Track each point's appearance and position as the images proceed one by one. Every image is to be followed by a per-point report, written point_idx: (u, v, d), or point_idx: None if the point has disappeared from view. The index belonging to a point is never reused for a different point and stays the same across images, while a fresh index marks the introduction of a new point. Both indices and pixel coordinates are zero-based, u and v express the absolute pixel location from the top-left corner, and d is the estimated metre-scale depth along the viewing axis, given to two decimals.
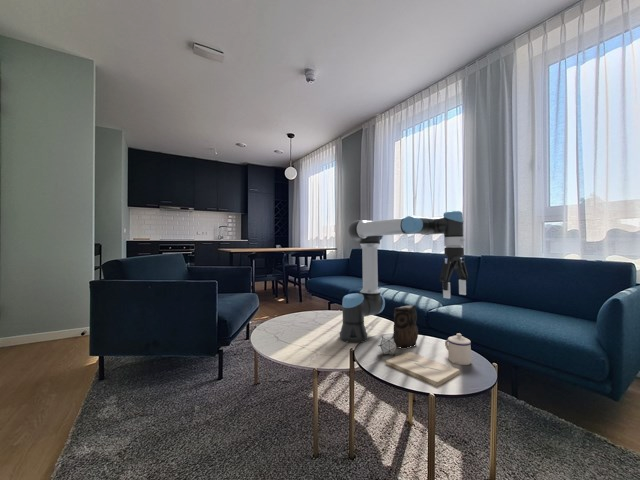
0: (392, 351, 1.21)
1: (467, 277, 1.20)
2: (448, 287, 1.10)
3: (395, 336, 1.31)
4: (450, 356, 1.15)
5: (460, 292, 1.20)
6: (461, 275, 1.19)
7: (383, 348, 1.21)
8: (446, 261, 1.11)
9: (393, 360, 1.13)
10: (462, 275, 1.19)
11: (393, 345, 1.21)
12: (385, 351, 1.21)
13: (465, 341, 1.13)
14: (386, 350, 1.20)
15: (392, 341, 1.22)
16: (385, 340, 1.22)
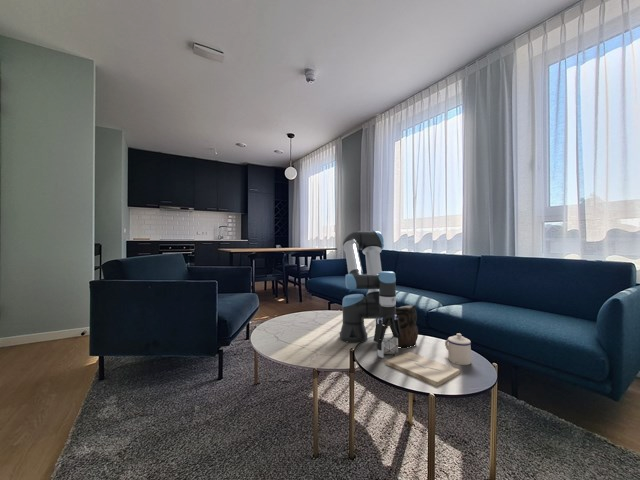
0: (392, 351, 1.21)
1: (400, 334, 1.27)
2: (381, 347, 1.19)
3: None
4: (450, 356, 1.15)
5: None
6: (394, 332, 1.26)
7: None
8: (378, 322, 1.19)
9: (393, 360, 1.13)
10: (395, 332, 1.26)
11: (393, 345, 1.21)
12: (385, 351, 1.21)
13: (465, 341, 1.13)
14: (386, 350, 1.20)
15: (392, 341, 1.22)
16: (385, 340, 1.22)
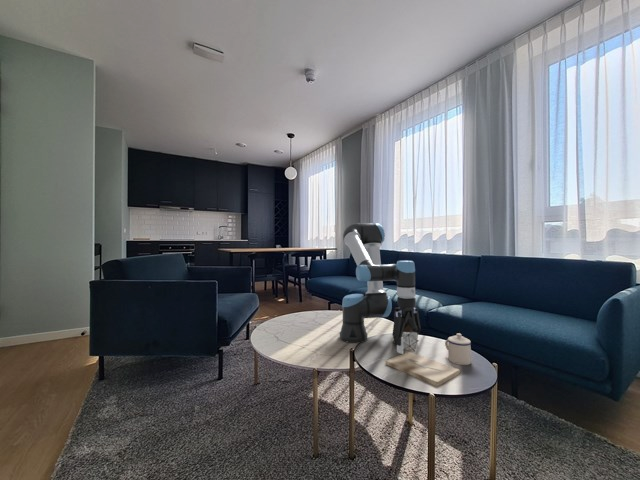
0: (412, 346, 1.11)
1: (419, 329, 1.18)
2: (401, 342, 1.10)
3: (395, 336, 1.31)
4: (450, 356, 1.15)
5: None
6: (413, 327, 1.17)
7: None
8: (397, 315, 1.10)
9: (393, 360, 1.13)
10: (414, 327, 1.16)
11: (413, 340, 1.11)
12: (405, 346, 1.12)
13: (465, 341, 1.13)
14: (406, 345, 1.11)
15: (412, 336, 1.13)
16: (404, 335, 1.13)
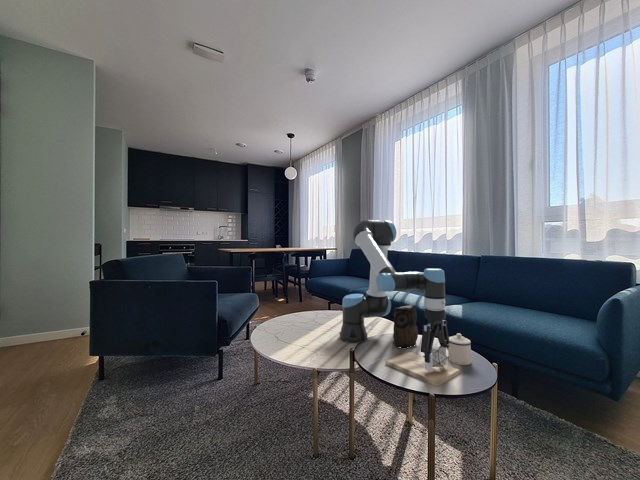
0: (442, 363, 1.01)
1: (448, 343, 1.07)
2: (430, 359, 1.00)
3: (395, 336, 1.31)
4: (450, 356, 1.15)
5: None
6: (441, 341, 1.06)
7: None
8: (425, 329, 1.00)
9: (393, 360, 1.13)
10: (442, 341, 1.06)
11: (443, 356, 1.01)
12: (433, 363, 1.01)
13: (465, 341, 1.13)
14: (435, 362, 1.01)
15: (441, 351, 1.03)
16: (433, 350, 1.03)
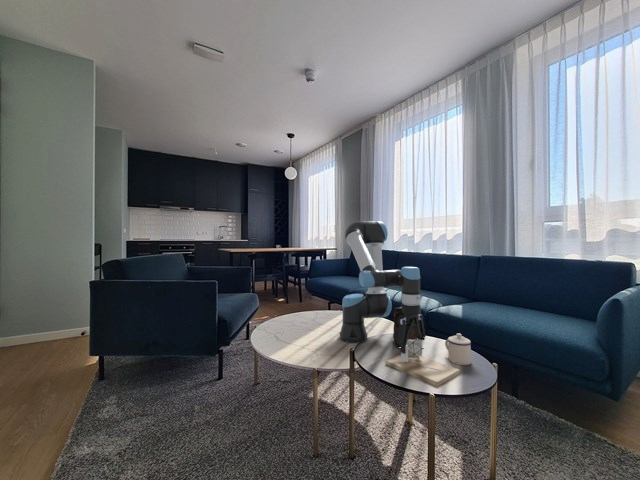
0: (417, 354, 1.10)
1: (424, 336, 1.16)
2: (405, 350, 1.08)
3: (395, 336, 1.31)
4: (450, 356, 1.15)
5: None
6: (418, 334, 1.15)
7: None
8: (401, 323, 1.08)
9: (393, 360, 1.13)
10: (418, 334, 1.14)
11: (418, 348, 1.10)
12: (409, 354, 1.10)
13: (465, 341, 1.13)
14: (410, 353, 1.09)
15: (417, 343, 1.11)
16: (409, 342, 1.11)
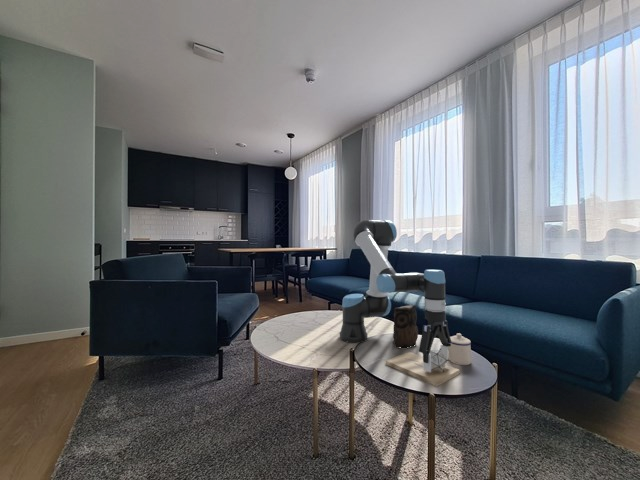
0: (442, 367, 1.01)
1: (450, 342, 1.08)
2: (429, 359, 0.99)
3: (395, 336, 1.31)
4: (450, 356, 1.15)
5: None
6: (443, 340, 1.07)
7: (431, 363, 1.02)
8: (426, 329, 1.00)
9: (393, 360, 1.13)
10: (444, 341, 1.06)
11: (443, 359, 1.01)
12: (433, 367, 1.01)
13: (465, 341, 1.13)
14: (435, 366, 1.01)
15: (441, 354, 1.02)
16: (432, 353, 1.03)
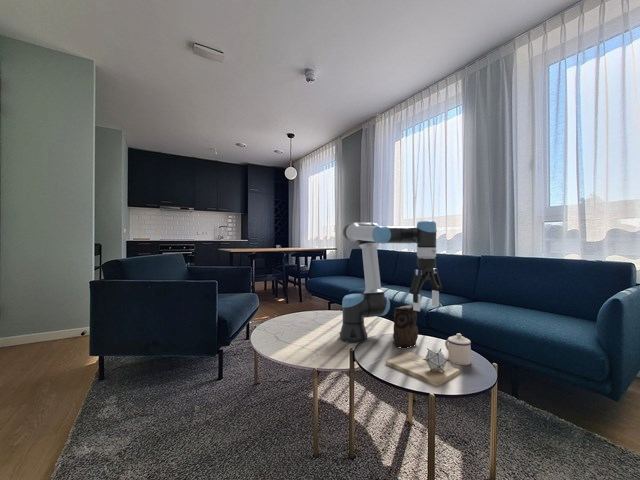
0: (442, 367, 1.01)
1: (440, 288, 1.17)
2: (418, 299, 1.08)
3: (395, 336, 1.31)
4: (450, 356, 1.15)
5: (433, 303, 1.17)
6: (434, 286, 1.16)
7: (431, 363, 1.02)
8: (417, 273, 1.08)
9: (393, 360, 1.13)
10: (435, 286, 1.16)
11: (443, 360, 1.01)
12: (433, 367, 1.01)
13: (465, 341, 1.13)
14: (435, 366, 1.01)
15: (441, 355, 1.02)
16: (433, 353, 1.03)
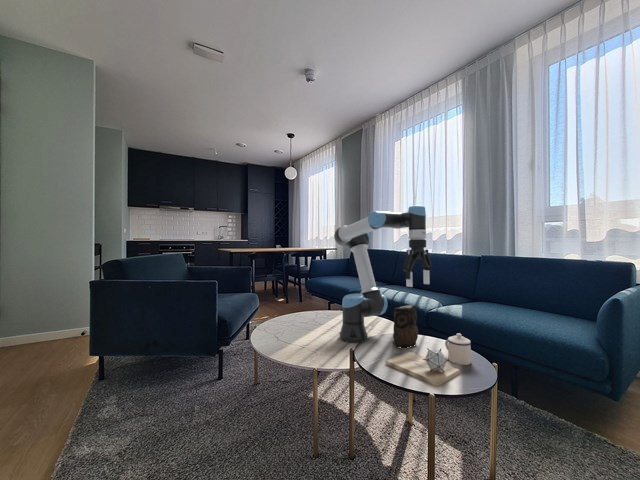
0: (442, 367, 1.01)
1: None
2: (410, 276, 1.19)
3: (395, 336, 1.31)
4: (450, 356, 1.15)
5: (424, 282, 1.28)
6: (425, 266, 1.27)
7: (431, 363, 1.02)
8: (409, 252, 1.20)
9: (393, 360, 1.13)
10: (426, 266, 1.27)
11: (443, 360, 1.01)
12: (433, 367, 1.01)
13: (465, 341, 1.13)
14: (435, 366, 1.01)
15: (441, 355, 1.02)
16: (433, 353, 1.03)
